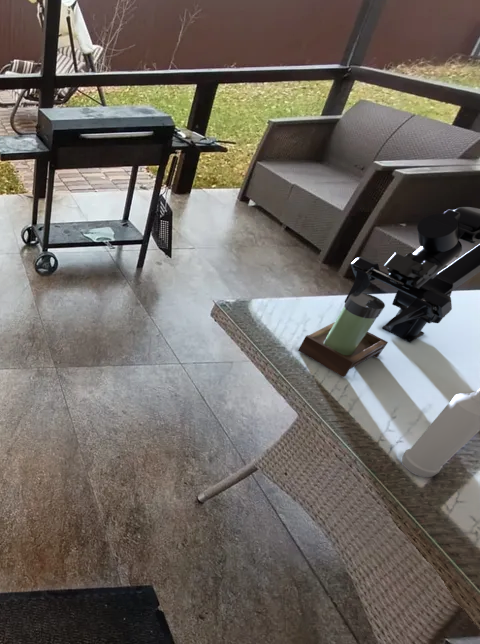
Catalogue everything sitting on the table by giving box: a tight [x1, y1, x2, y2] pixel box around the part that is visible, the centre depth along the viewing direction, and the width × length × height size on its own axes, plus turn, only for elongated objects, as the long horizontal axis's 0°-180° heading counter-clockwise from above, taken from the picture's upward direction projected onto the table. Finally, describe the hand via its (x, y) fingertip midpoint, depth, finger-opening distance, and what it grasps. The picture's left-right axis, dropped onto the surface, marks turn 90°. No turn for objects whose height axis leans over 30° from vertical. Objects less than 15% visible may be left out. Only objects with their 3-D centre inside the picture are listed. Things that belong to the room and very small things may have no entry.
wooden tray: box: [297, 321, 389, 378], centre depth 109 cm, size 14×10×4 cm
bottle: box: [400, 387, 480, 478], centre depth 78 cm, size 5×5×25 cm
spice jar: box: [324, 292, 386, 355], centre depth 104 cm, size 6×6×13 cm
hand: (365, 314), depth 103 cm, fingers open, 9 cm apart
